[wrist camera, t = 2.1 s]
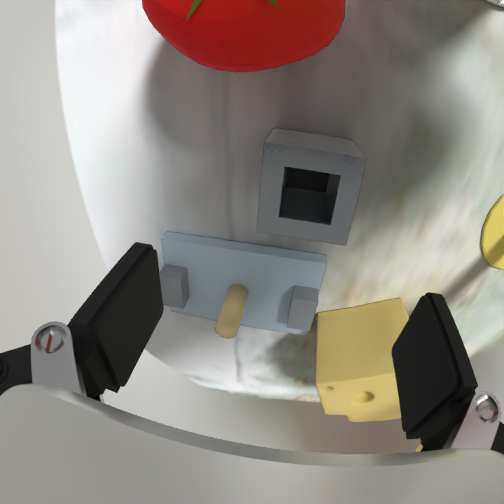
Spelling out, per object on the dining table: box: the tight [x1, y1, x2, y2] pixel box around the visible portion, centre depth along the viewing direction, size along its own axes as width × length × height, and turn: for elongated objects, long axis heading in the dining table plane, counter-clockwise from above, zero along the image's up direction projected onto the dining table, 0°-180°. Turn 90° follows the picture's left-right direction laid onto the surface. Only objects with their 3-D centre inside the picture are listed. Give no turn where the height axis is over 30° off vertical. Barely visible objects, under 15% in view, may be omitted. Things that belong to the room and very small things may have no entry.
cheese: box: [315, 298, 409, 422], centre depth 29 cm, size 10×11×10 cm
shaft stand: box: [159, 231, 327, 338], centre depth 29 cm, size 16×10×7 cm, turn 86°
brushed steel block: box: [256, 128, 366, 246], centre depth 21 cm, size 6×6×6 cm
